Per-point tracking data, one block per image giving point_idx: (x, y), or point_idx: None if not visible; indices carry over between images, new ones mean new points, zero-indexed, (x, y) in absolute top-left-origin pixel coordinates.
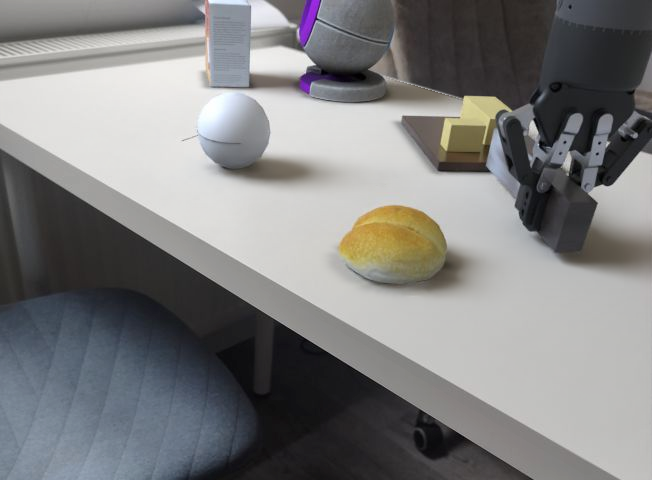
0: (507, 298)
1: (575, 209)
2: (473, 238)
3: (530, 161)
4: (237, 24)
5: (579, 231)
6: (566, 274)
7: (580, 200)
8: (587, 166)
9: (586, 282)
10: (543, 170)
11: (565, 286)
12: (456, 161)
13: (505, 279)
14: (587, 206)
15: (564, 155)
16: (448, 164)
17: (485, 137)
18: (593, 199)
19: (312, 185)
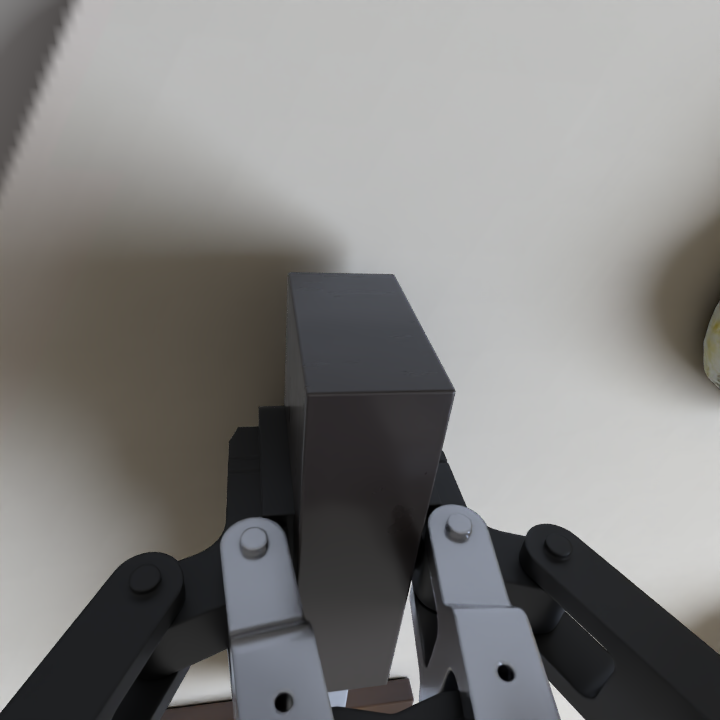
0: (703, 13)
1: (411, 369)
2: (533, 401)
3: (379, 679)
4: None
5: (336, 313)
6: (376, 172)
7: (392, 410)
8: (309, 625)
9: (330, 102)
10: (504, 587)
11: (434, 79)
12: (371, 707)
13: (612, 155)
14: (356, 380)
15: (477, 663)
16: (389, 696)
17: None
18: (311, 425)
19: (713, 592)
